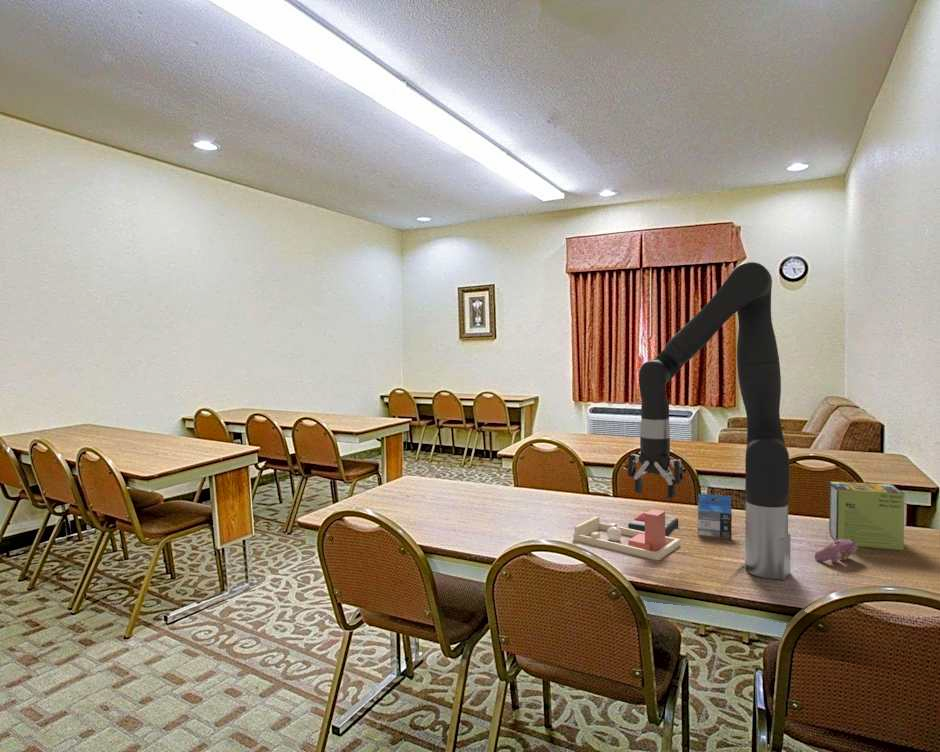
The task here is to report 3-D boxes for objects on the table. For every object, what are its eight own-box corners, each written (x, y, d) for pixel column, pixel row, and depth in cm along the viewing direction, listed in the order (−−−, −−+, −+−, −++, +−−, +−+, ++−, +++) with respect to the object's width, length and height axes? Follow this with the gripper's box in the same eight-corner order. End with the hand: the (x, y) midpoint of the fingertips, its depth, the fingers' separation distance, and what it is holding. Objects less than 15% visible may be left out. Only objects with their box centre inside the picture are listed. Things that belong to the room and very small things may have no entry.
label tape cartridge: (697, 539, 164) (697, 496, 163) (697, 535, 168) (697, 493, 167) (731, 542, 161) (731, 499, 160) (730, 538, 164) (731, 495, 164)
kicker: (666, 547, 154) (666, 510, 154) (655, 554, 149) (655, 516, 149) (639, 541, 160) (639, 505, 159) (628, 548, 154) (628, 511, 154)
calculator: (678, 516, 175) (665, 527, 163) (678, 530, 175) (665, 542, 163) (642, 511, 181) (627, 521, 169) (642, 524, 181) (627, 536, 169)
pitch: (680, 550, 156) (680, 531, 155) (658, 565, 145) (658, 546, 145) (597, 531, 172) (597, 515, 172) (573, 544, 162) (573, 527, 161)
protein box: (904, 550, 152) (905, 493, 151) (837, 545, 157) (838, 489, 156) (891, 538, 162) (892, 484, 161) (828, 533, 167) (828, 480, 166)
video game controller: (826, 571, 143) (839, 550, 140) (811, 557, 147) (823, 537, 144) (852, 564, 147) (865, 544, 144) (836, 551, 151) (848, 531, 148)
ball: (624, 540, 161) (623, 526, 161) (617, 544, 158) (617, 530, 158) (611, 537, 164) (611, 523, 164) (604, 541, 161) (604, 527, 161)
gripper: (687, 436, 149) (686, 497, 150) (636, 431, 159) (635, 488, 160) (675, 439, 144) (675, 503, 145) (623, 434, 153) (623, 494, 154)
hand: (654, 495), depth 152 cm, fingers open, 8 cm apart
